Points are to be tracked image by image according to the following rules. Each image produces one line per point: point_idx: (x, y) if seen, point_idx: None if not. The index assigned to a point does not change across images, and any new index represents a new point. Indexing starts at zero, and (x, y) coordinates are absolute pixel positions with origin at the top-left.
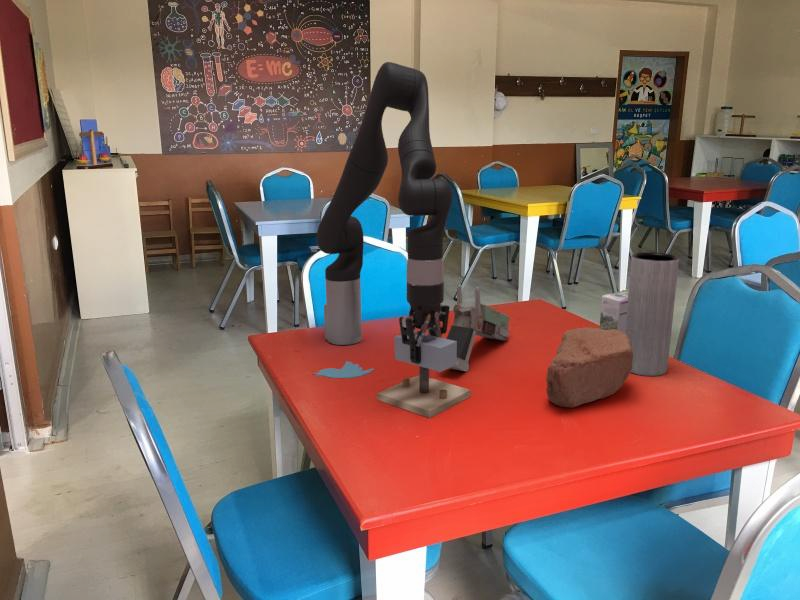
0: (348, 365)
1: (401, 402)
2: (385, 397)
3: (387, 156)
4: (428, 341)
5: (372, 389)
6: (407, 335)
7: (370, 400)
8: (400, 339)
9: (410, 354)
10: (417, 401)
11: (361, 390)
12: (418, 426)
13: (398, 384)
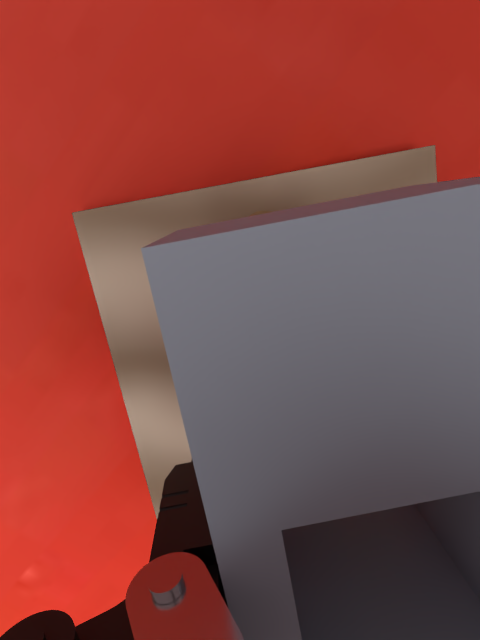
0: None
1: (118, 372)
2: (90, 272)
3: None
4: (478, 500)
5: (142, 70)
6: (348, 338)
7: (51, 193)
8: (175, 364)
9: (162, 508)
10: (179, 417)
11: (81, 36)
12: (80, 522)
13: (243, 187)
